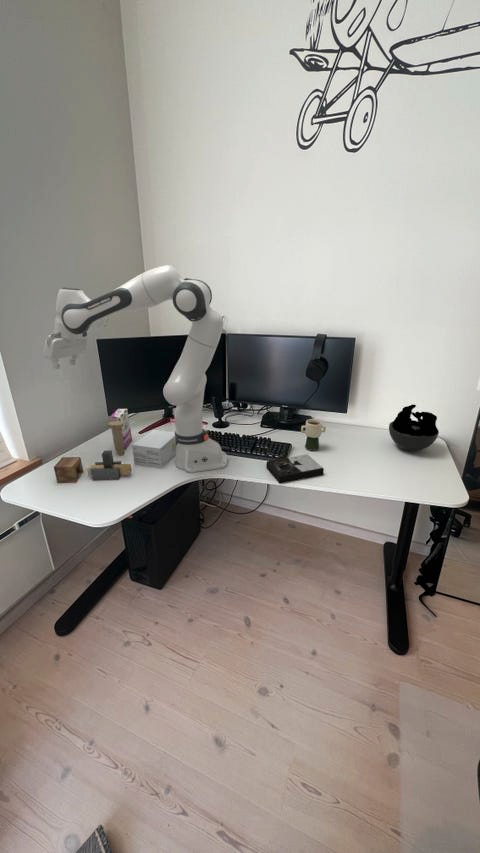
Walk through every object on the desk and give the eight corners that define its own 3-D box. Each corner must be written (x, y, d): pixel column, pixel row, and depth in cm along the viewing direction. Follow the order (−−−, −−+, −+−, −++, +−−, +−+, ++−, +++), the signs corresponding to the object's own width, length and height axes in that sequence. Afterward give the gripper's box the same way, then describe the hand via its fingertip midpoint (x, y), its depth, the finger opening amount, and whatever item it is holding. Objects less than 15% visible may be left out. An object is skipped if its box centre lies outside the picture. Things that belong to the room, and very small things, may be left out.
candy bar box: (122, 440, 170) (117, 408, 164) (132, 440, 170) (128, 408, 164) (114, 450, 160) (108, 417, 153) (125, 450, 160) (120, 417, 153)
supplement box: (161, 469, 145) (159, 448, 141) (133, 464, 148) (131, 444, 144) (180, 451, 159) (178, 432, 156) (154, 447, 163) (152, 429, 159)
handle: (125, 456, 154) (121, 425, 148) (111, 456, 155) (106, 425, 149) (129, 451, 159) (125, 421, 153) (115, 451, 159) (110, 420, 153)
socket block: (83, 472, 142) (80, 456, 140) (76, 482, 135) (72, 466, 132) (65, 472, 142) (62, 457, 139) (57, 483, 135) (53, 467, 132)
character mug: (322, 444, 164) (324, 418, 159) (325, 451, 157) (328, 424, 152) (298, 445, 164) (300, 419, 159) (301, 452, 157) (302, 425, 152)
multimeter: (265, 468, 145) (266, 457, 143) (307, 461, 150) (308, 450, 148) (279, 485, 133) (279, 473, 131) (323, 476, 139) (324, 465, 137)
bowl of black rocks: (428, 463, 147) (438, 421, 139) (380, 450, 158) (386, 411, 151) (438, 446, 161) (447, 407, 154) (392, 435, 173) (399, 399, 165)
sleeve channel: (123, 472, 142) (121, 461, 140) (119, 479, 137) (117, 468, 135) (97, 472, 142) (95, 461, 140) (92, 480, 136) (90, 469, 134)
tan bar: (131, 470, 140) (128, 449, 137) (130, 474, 138) (126, 453, 134) (90, 472, 140) (86, 451, 136) (88, 475, 137) (83, 454, 133)
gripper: (55, 336, 123) (53, 374, 128) (90, 332, 142) (87, 364, 147) (39, 331, 123) (37, 368, 129) (76, 327, 142) (73, 359, 147)
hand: (64, 366), depth 138 cm, fingers open, 8 cm apart
